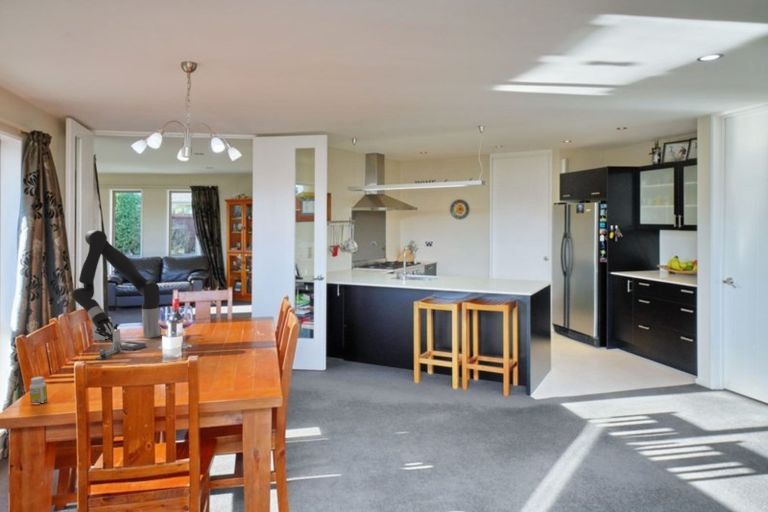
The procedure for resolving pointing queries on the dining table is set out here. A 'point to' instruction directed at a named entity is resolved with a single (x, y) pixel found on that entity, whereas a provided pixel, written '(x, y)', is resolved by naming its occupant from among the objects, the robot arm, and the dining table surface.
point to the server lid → (132, 345)
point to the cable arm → (115, 344)
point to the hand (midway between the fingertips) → (115, 340)
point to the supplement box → (97, 336)
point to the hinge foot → (103, 357)
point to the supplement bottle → (38, 390)
